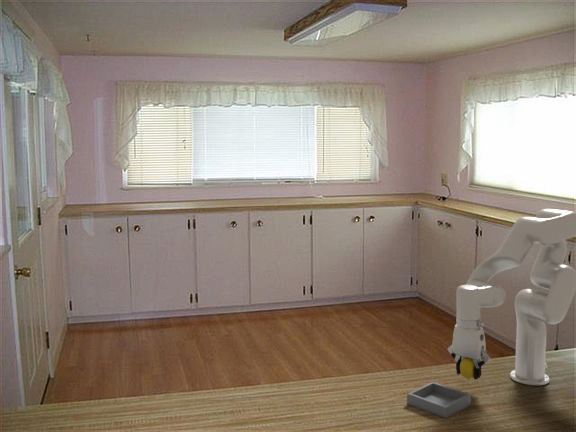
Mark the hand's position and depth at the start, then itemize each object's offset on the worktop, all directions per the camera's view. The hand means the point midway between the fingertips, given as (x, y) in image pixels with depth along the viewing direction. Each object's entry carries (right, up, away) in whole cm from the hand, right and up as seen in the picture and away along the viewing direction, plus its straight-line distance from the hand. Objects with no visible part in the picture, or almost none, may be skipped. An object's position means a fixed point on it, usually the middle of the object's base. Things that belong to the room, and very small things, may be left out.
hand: (468, 375), depth 192 cm
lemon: (0, -2, 0) cm, 2 cm away
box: (-13, -6, -11) cm, 18 cm away
